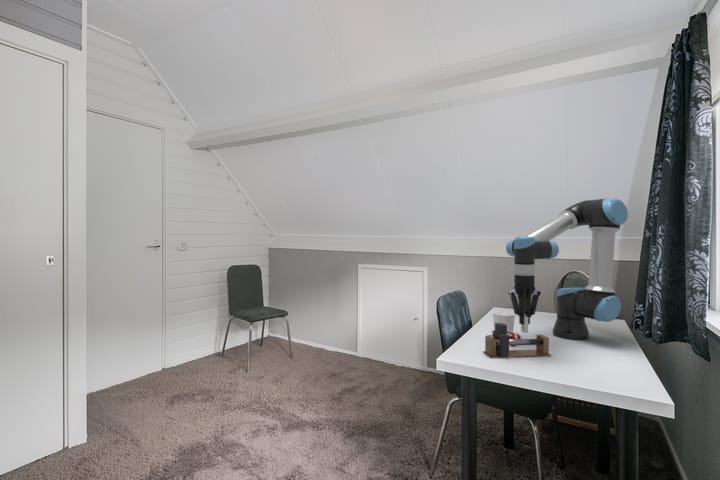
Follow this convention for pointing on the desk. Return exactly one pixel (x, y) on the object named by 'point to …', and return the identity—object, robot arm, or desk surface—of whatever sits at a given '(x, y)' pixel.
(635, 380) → the desk surface
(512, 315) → the cup
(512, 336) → the alarm clock
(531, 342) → the rail
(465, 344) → the desk surface
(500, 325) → the dark grey stepped block
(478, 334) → the desk surface
